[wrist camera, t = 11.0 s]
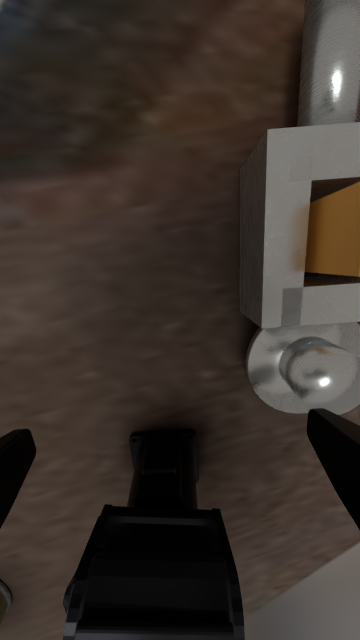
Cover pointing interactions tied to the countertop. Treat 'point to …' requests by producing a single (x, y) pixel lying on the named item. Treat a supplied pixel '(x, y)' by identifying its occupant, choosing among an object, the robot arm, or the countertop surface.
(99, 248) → the countertop surface
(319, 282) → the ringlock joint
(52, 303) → the countertop surface
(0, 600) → the canister
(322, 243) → the wedge
